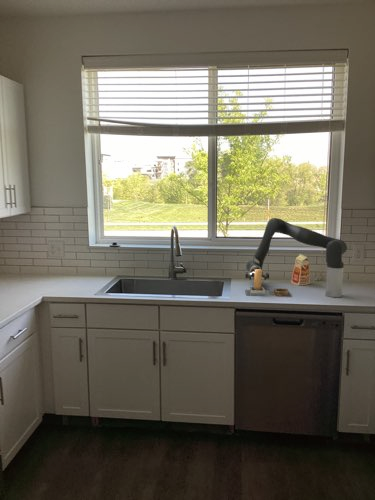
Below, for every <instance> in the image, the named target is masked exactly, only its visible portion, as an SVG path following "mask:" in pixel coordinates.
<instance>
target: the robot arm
mask: <svg viewBox="0 0 375 500" xmlns="http://www.w3.org/2000/svg"><path fill="white" fill-rule="evenodd" d="M275 233H276V234H282V235H286V236H288V237H290V238H292V239H294V240H295V241H296V242H299V243H302V244H303V245H304V244H305V245H308V246H312V247H317V248H318V247H319V248H323V249H325V250H326V251H325V263H326V276H325V277H326V279H325V294H324V295H325V296H327V297H331V298H342V297H343V281H344V268H345V267H344V266H345V265H344V262H343V261H342V260H343V259H342V258H343V257H342V256H343V255H344V254H345V253H346V252H347V250H348V245H347V243H346V242H345V241H344V240H343V239H342V240H341V239H339V238H334V237H331V236H330V237H329V236H327V235H325V234H322V233H319V232H317V231H315V230H312V229H309V228H307V227H303V226H299V225H294V224H291V223H289V222H287V221H285V220H284V219H281V218H277V217H276V218H275V217H271V218H270V219H269V220H268V221H267V223H266V226H265V229H264V232H263V236H262V238H261V241H260V243H259V246H258V247H257V249H256V251H255V253H254V255H253V256H254V259H256V260H257V261H258V262H259V263H258V262H256V261H254V260H252V259H251V260H248V262H247V263H246V270H247V271H245V273H244V274H245V275H244V276H245V279H249V280H254V272H255V269H261V270H262V280H264V281H266V280H269V279H270V274H269V273H270V272H265V273H264V272H263V266H264V261H265V259H266V257H267V255H268V253H269V250H270V247H271V241H272V238H273V236H274V235H275Z"/></svg>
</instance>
